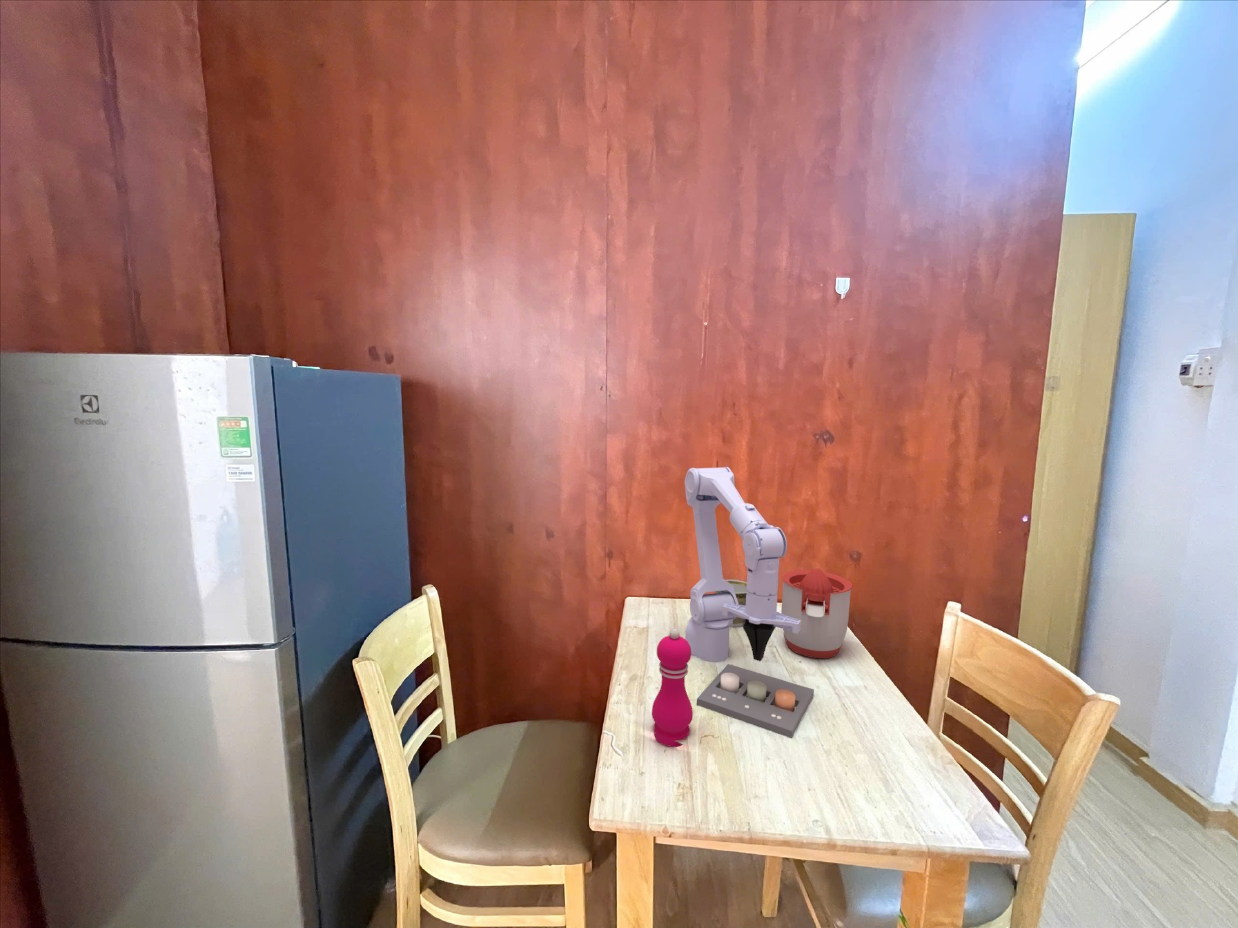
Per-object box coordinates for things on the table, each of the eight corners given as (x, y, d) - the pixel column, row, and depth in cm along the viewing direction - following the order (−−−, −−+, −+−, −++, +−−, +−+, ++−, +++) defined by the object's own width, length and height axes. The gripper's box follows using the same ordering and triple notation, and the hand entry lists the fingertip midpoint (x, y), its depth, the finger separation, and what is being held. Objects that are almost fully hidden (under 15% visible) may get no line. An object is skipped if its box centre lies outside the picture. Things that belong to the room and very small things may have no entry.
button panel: (696, 710, 104) (696, 697, 104) (727, 674, 117) (728, 662, 117) (791, 744, 94) (792, 729, 94) (813, 701, 108) (814, 688, 107)
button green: (744, 701, 105) (744, 686, 105) (750, 692, 108) (751, 678, 108) (762, 707, 103) (763, 692, 103) (768, 698, 106) (768, 684, 106)
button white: (717, 692, 108) (718, 678, 108) (724, 684, 111) (724, 670, 111) (734, 698, 106) (735, 683, 106) (741, 689, 109) (741, 675, 109)
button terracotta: (772, 710, 102) (773, 695, 102) (777, 701, 105) (778, 687, 105) (791, 716, 100) (792, 701, 100) (796, 707, 103) (797, 692, 103)
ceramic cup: (707, 623, 143) (708, 587, 142) (722, 611, 151) (724, 576, 150) (754, 636, 136) (756, 598, 134) (768, 623, 144) (770, 587, 143)
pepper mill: (695, 728, 99) (699, 623, 96) (687, 752, 92) (691, 641, 89) (657, 719, 101) (659, 617, 98) (646, 743, 94) (648, 634, 91)
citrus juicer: (775, 660, 124) (780, 576, 121) (780, 629, 140) (784, 554, 138) (849, 673, 119) (855, 585, 116) (845, 639, 135) (851, 562, 132)
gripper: (717, 589, 103) (715, 656, 105) (795, 606, 95) (790, 678, 97) (731, 578, 109) (728, 642, 111) (805, 593, 101) (800, 662, 103)
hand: (758, 658), depth 105 cm, fingers closed
